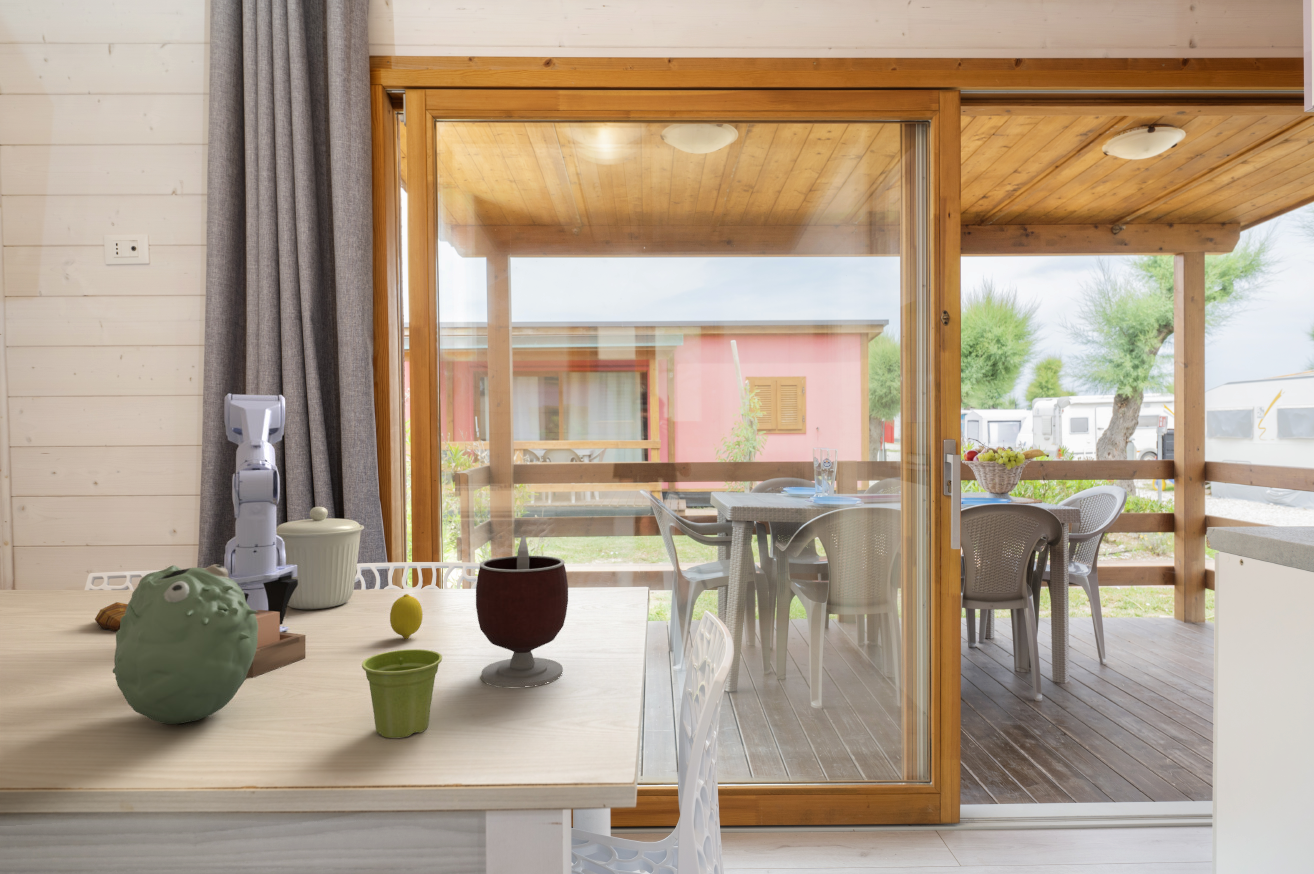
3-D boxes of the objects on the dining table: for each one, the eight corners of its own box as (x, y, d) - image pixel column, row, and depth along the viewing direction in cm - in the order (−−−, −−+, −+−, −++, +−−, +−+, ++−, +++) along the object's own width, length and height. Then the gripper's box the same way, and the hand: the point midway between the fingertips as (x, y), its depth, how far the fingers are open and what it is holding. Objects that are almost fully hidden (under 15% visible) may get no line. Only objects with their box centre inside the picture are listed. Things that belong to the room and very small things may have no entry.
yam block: (234, 647, 114) (234, 615, 114) (259, 639, 118) (259, 609, 118) (255, 650, 112) (255, 618, 112) (279, 642, 117) (279, 611, 117)
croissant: (151, 630, 136) (151, 603, 136) (108, 638, 131) (108, 610, 131) (124, 619, 144) (124, 594, 144) (83, 626, 139) (82, 600, 139)
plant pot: (375, 715, 94) (375, 649, 94) (448, 713, 95) (448, 647, 95) (350, 746, 85) (350, 672, 85) (432, 743, 86) (432, 670, 86)
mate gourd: (569, 686, 105) (570, 549, 105) (471, 692, 103) (471, 551, 103) (565, 654, 120) (565, 534, 120) (480, 658, 118) (480, 536, 118)
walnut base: (204, 669, 113) (204, 645, 113) (259, 651, 122) (259, 629, 122) (252, 677, 109) (252, 652, 109) (305, 657, 119) (305, 634, 119)
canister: (341, 615, 147) (341, 511, 147) (253, 614, 147) (253, 511, 147) (377, 595, 165) (377, 502, 165) (298, 594, 165) (298, 502, 165)
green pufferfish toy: (206, 688, 104) (206, 549, 104) (290, 712, 95) (290, 560, 95) (78, 726, 91) (78, 567, 91) (162, 759, 82) (162, 582, 82)
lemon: (412, 643, 127) (412, 598, 127) (383, 641, 128) (383, 596, 128) (428, 635, 132) (428, 591, 132) (400, 633, 133) (400, 590, 133)
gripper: (234, 553, 107) (234, 644, 107) (311, 539, 121) (311, 620, 121) (199, 550, 110) (199, 640, 110) (279, 537, 123) (279, 617, 123)
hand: (256, 629), depth 116 cm, fingers open, 7 cm apart
